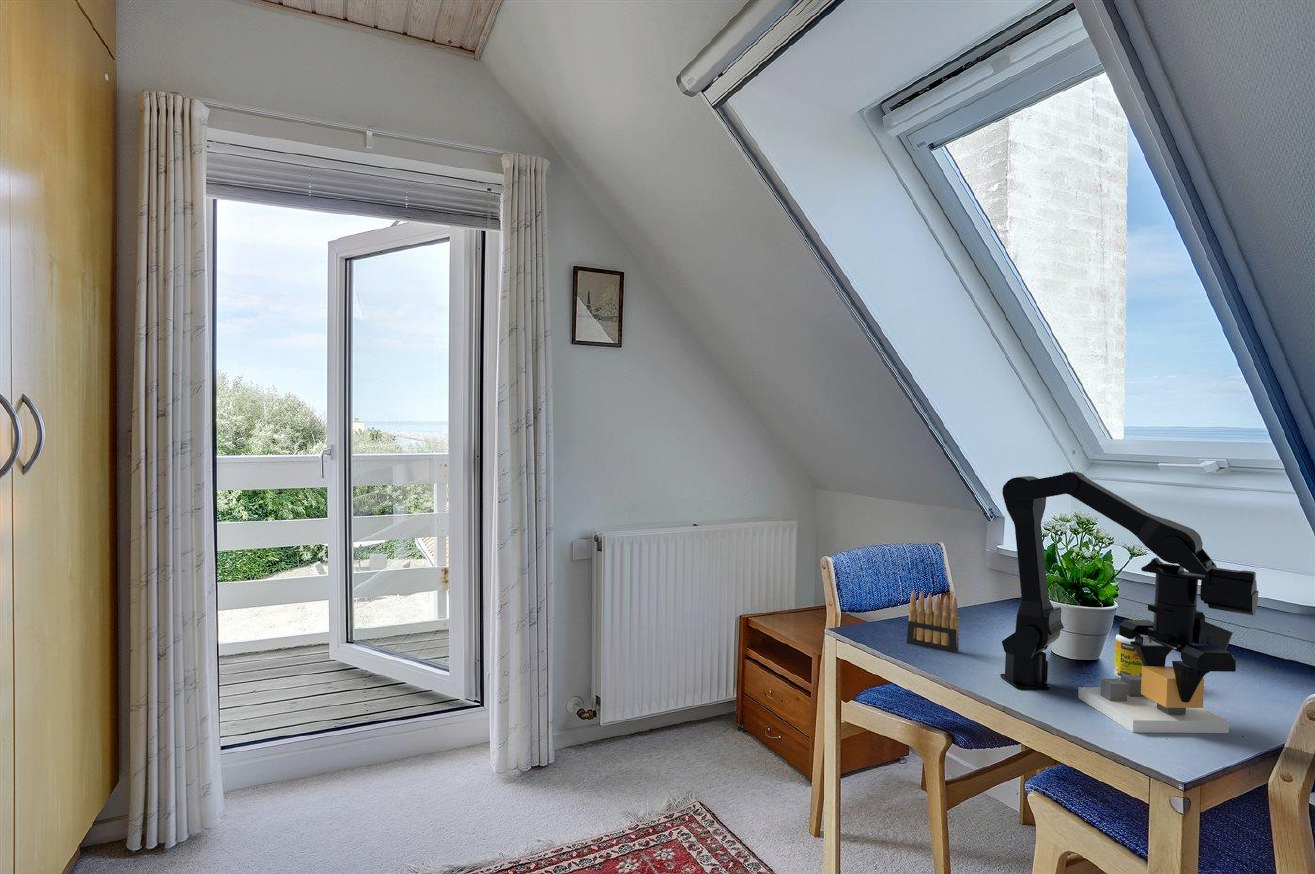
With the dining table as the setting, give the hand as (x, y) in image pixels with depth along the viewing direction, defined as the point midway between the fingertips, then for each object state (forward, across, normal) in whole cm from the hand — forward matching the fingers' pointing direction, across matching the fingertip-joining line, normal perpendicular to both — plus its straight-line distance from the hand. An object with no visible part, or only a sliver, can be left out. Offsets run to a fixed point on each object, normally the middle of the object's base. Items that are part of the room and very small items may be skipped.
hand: (1171, 694), depth 118 cm
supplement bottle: (+5, +20, -8) cm, 22 cm away
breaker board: (+5, +3, +1) cm, 6 cm away
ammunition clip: (+5, +38, +24) cm, 46 cm away
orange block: (+1, 0, 0) cm, 1 cm away
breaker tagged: (+3, 0, 0) cm, 3 cm away
